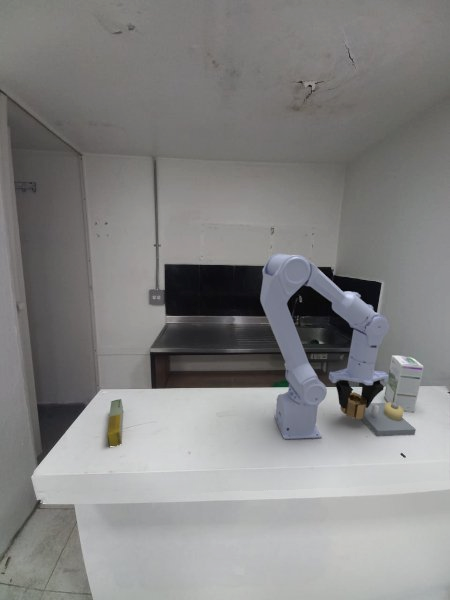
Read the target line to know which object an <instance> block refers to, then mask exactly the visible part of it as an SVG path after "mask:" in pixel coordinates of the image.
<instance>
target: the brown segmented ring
mask: <svg viewBox="0 0 450 600" xmlns="http://www.w3.org/2000/svg"><path fill="white" fill-rule="evenodd" d="M366 405H367V400H366V399H365V398H364V397H363V396H361V394H360V393H357V392H354V391H352V392H351V394H350V396H349V399H348V403H347V407H346V408H342V407H341V406H340V411H341V412H342V413H343V414H344V415H345V416H347V417H349V418H351V419H355V420H362V418H364V415H365V410H366Z"/></svg>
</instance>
